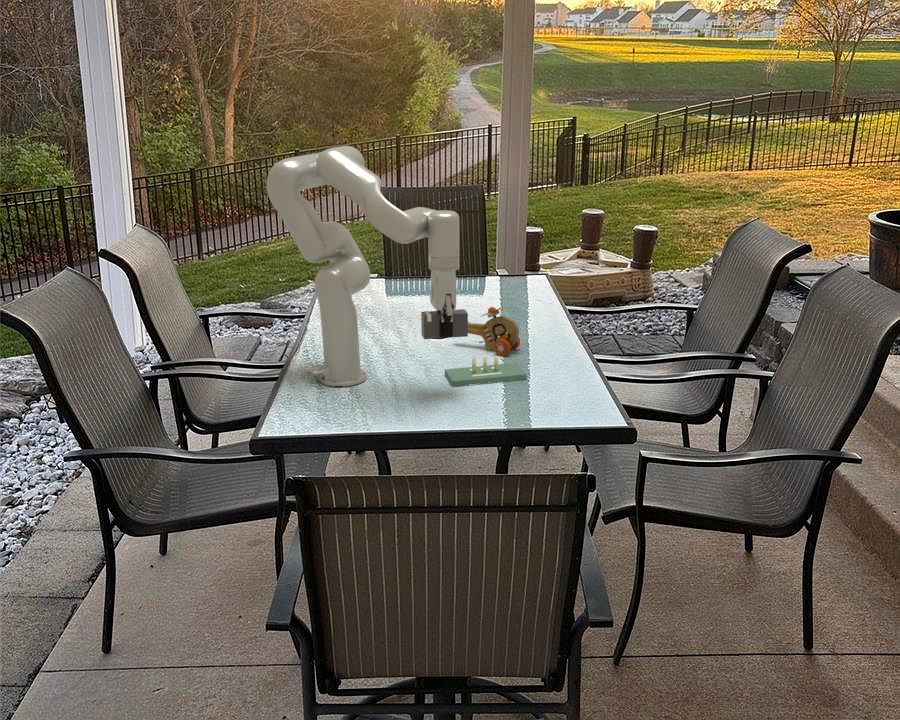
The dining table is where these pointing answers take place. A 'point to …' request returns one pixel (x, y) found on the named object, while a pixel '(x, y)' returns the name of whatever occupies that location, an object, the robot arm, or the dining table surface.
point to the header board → (485, 373)
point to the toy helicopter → (497, 332)
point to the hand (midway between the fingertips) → (444, 333)
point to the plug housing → (433, 319)
